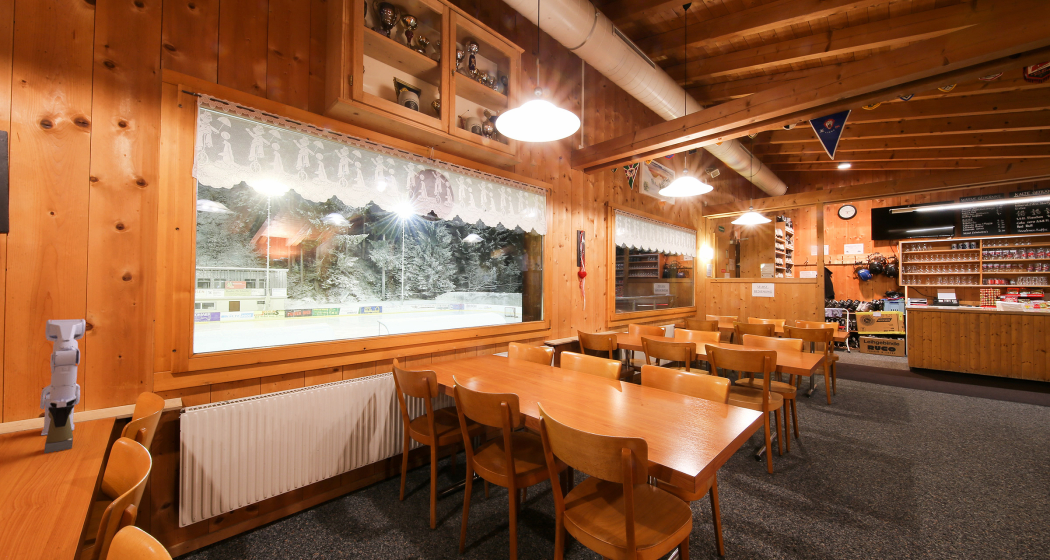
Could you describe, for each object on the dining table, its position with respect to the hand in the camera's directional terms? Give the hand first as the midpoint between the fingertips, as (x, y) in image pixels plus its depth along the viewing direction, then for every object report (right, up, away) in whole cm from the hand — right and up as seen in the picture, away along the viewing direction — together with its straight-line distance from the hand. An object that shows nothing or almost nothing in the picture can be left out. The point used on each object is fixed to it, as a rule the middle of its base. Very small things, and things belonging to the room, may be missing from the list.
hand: (60, 424), depth 131 cm
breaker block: (0, -8, 0) cm, 8 cm away
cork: (0, -6, 0) cm, 6 cm away
